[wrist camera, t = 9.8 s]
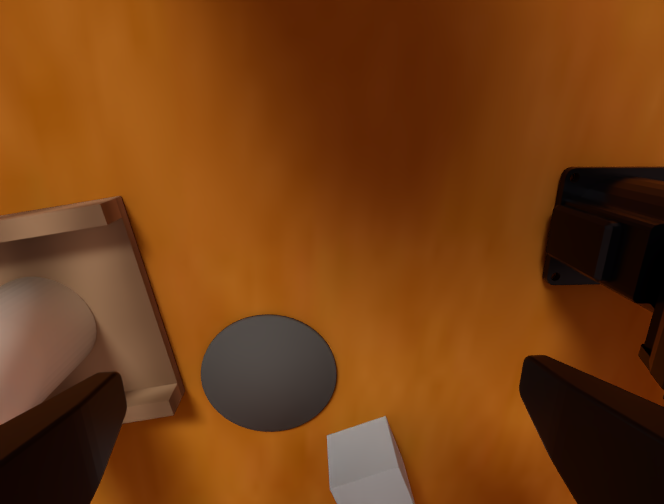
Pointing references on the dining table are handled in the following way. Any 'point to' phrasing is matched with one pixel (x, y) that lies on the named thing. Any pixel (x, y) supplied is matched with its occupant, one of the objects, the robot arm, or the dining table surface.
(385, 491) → the block
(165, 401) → the bay
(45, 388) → the white rounded tapered post
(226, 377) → the coaster
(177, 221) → the dining table surface
